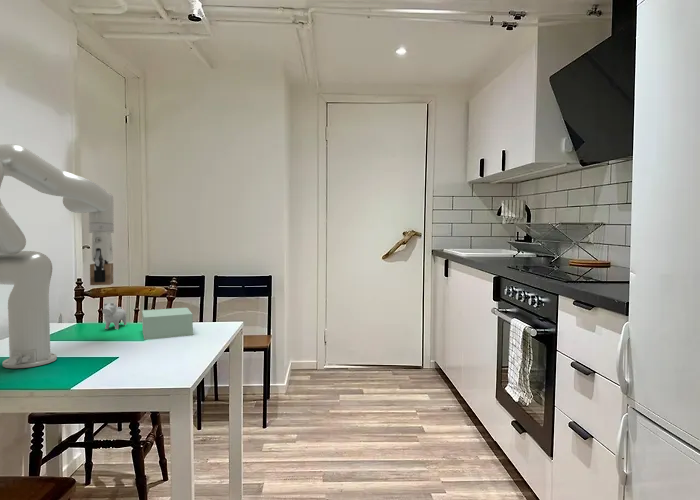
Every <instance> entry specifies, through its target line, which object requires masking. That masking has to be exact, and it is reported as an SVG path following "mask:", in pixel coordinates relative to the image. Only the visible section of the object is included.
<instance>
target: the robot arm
mask: <svg viewBox="0 0 700 500" xmlns="http://www.w3.org/2000/svg"><path fill="white" fill-rule="evenodd" d="M4 177H12V178H14V179H16V180H17V181H19V182H21V183H23V184H24V185H27V186H28V187H30V188H32V189H34V190H36V191H37V192H38V193H39V192H40V193H41V194H46V195H49V196H54V197H62V204H63V206H64V208H65V209H66V210H68V211H69V212H71V213H72V212H73V213H77V214H82V213H83V214H84V213H87V214H88V233H89V234H91V260H92V262H94V264H95V266H94V282H105V270H104V264H105V263H110V262H111V261H113V259H114V254H113V251H114V250H113V238H112V237H113V236H112V234H114V232H115V231H114V229H115V227H114V225H115V224H114V222H115V221H114V196H113V194H111V193H109V192H108V191H106V189H104V188H103V187H102V186H101V185H99V184H97V183H96V182H95V181H92V180H90V179H88V178H85V177H84V176H80V175H77V174H74V173H72V172H69V171H66V170H63V169H61V168H60V169H59V168H57V167H56V166H54V165H53V164H51V163H49V162H48V161H46V160H45V159H44V158H42V157H40V156H38V155H37V154H36V153H34V152H32V151H31V150H29V149H28V148H27V147H24V146H22V145H19V144H13V143H6V144H0V188H2V187H1V185H2V183H3V180H4ZM26 245H27V240H26V236H25V234H24V232H23V231H22V229H21V228H20V226H19V225H18V223H17V222H15V220H14V219H13V217H12V216H11V215H10V213H9V212H8V211H7V209H6V208H5V206H4V204H3V203H2V201H1V199H0V285H11V286H12V285H13V287H12V289H11V291H10V294H9V296H8V300H7V314H8V315H7V316H8V321H7V322H8V348H9V349H8V352H9V353H8V354H9V358H6V359H4V360H2V367H3V368H6V369H25V368H27V369H28V368H34V367H40V366H43V365H48V364H50V363H53V362H55V361H56V360H57V359H58V357H57V356H58V355H57V354H56V353H52V352H51V332H50V331H51V329H50V328H51V325H50V286H51V280H52V276H53V275H52V274H53V263H52V261H51V259H50V257H49V256H48V255H46V254H44V253H42V252H40V251H35V250H33V251H32V250H24V249H25V248H26Z"/></svg>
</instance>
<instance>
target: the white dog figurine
mask: <svg viewBox="0 0 700 500" xmlns="http://www.w3.org/2000/svg"><path fill="white" fill-rule="evenodd" d="M102 308H103V309H102V310H101V311H102V314H104V316H103V319H104V321H105V328H104V330H105V329H108V330H110V329H109V328H110V326H111V323H113V326H114V325H115V326H114V330H115V329H117V330H119V327H120V321H122V322H123V326H124V325H127V315H128V314H127V311H126V310H125V309H123V308H122V307H121V306H117V304H115V302H114V301H111V302H109V303H108V302H104V303H103V307H102Z"/></svg>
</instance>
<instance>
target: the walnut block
mask: <svg viewBox="0 0 700 500" xmlns="http://www.w3.org/2000/svg"><path fill="white" fill-rule="evenodd" d="M94 266H95V263H91V264H89V286H110V285H113V284H114V263H110V262H108V263H105V264H104V270H105V282H94Z"/></svg>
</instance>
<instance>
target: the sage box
mask: <svg viewBox="0 0 700 500" xmlns="http://www.w3.org/2000/svg"><path fill="white" fill-rule="evenodd" d="M141 312H142V313H141V314H142V315H141V316H142V317H141V318H142V323H141V325H142V335H143V340H144V341H145V340H155V339H165V338H177V337H185V336H193V335H194V332H193V331H194V327H193V324H194V323H193V318H194V317H193V316H194V315H193V313H192V312H191V310H190V309H189V308H188V307H176V308H175V307H174V308H162V309H161V308H160V309H159V308H157V309H143V310H141Z"/></svg>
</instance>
